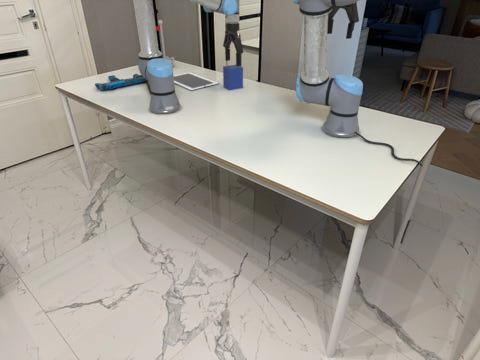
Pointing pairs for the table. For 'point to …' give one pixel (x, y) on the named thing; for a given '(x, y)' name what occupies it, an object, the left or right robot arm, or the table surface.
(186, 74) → the tablet
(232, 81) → the block
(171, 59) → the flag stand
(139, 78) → the submachine gun
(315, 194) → the table surface
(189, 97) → the table surface
